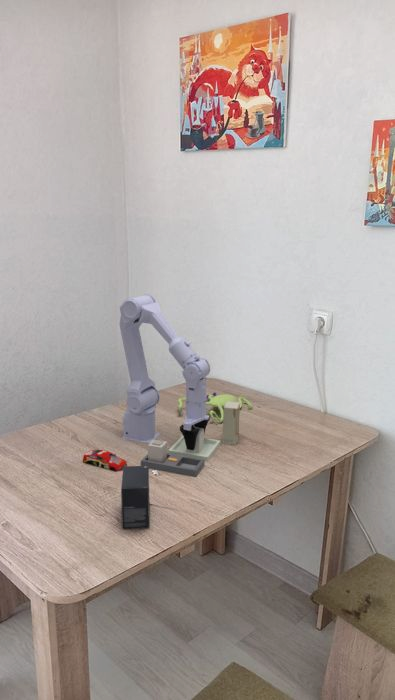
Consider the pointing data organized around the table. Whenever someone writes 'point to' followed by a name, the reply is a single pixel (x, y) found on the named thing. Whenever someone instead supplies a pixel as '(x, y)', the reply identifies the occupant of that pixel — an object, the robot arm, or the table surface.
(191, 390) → the robot arm
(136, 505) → the small box
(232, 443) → the skincare box
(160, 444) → the twin plug
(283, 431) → the table surface
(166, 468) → the strip
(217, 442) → the tray
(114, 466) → the race car
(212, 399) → the figurine
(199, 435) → the plug
